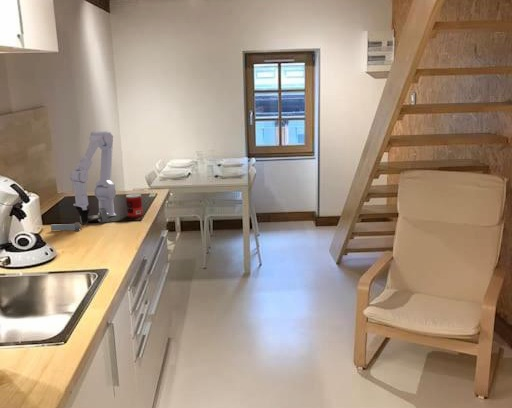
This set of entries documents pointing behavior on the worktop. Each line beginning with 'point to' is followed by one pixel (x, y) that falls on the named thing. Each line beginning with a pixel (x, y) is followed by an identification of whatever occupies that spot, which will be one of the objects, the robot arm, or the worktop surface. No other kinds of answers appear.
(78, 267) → the worktop surface
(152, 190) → the worktop surface
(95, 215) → the hook rod
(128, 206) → the canned food
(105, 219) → the eye bracket
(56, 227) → the grey lever bar
